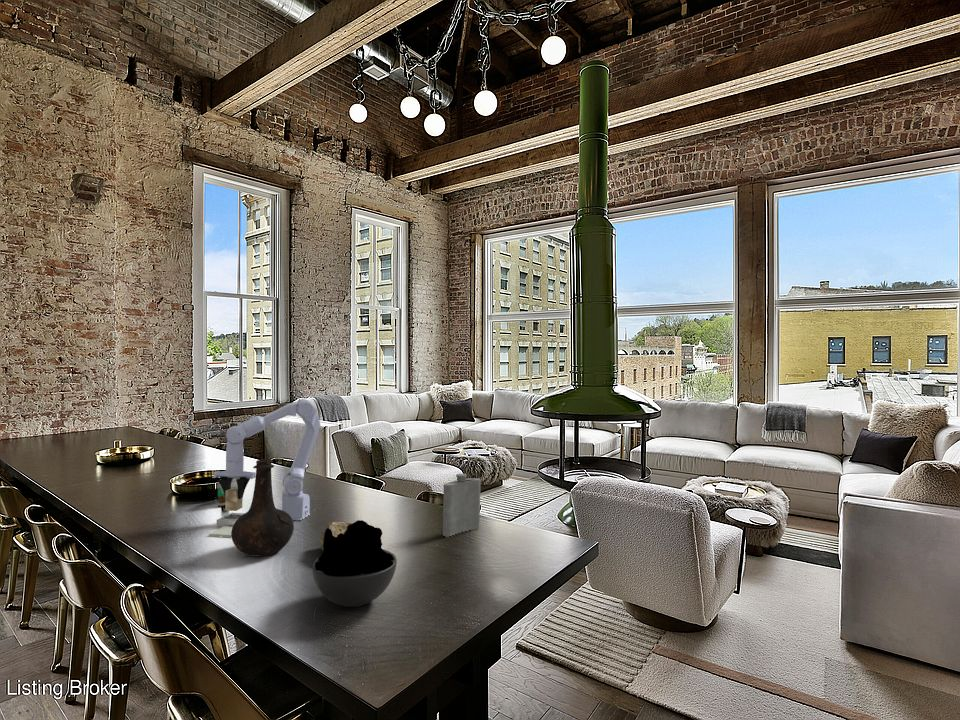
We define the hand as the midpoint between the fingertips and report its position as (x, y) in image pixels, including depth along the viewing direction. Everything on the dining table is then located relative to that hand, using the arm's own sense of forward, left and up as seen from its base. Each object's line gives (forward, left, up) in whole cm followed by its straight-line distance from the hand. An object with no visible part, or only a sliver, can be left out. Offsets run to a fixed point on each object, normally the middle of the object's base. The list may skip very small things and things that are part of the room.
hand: (234, 498), depth 183 cm
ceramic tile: (-4, +10, -9) cm, 14 cm away
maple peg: (0, 0, -4) cm, 4 cm away
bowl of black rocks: (-64, +51, -9) cm, 83 cm away
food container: (+16, -23, -9) cm, 29 cm away
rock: (-51, +22, -10) cm, 56 cm away
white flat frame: (-3, 0, -9) cm, 10 cm away
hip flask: (-81, -6, -9) cm, 82 cm away
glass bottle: (-24, +23, -9) cm, 35 cm away
